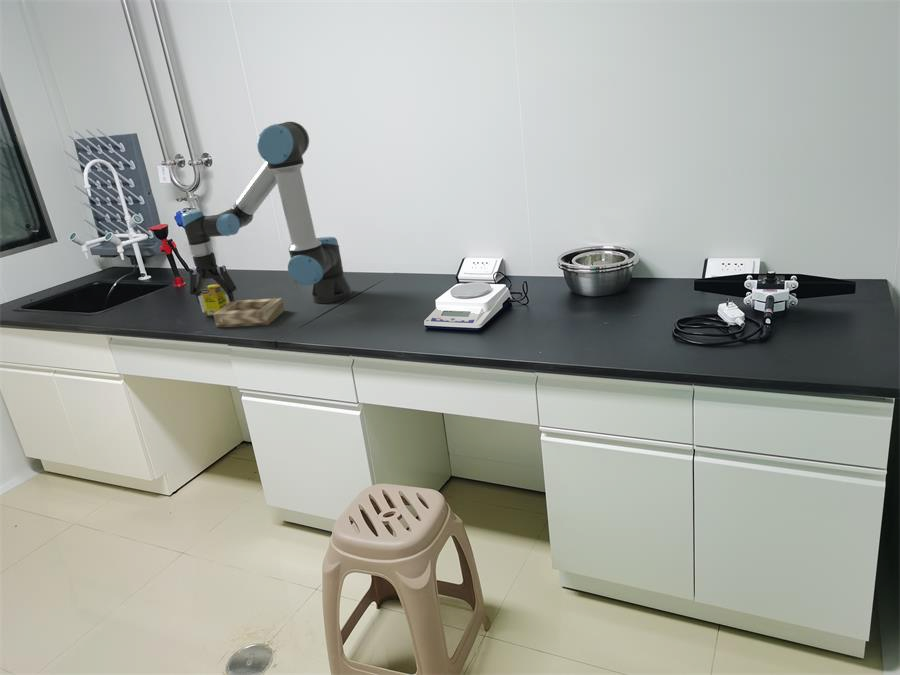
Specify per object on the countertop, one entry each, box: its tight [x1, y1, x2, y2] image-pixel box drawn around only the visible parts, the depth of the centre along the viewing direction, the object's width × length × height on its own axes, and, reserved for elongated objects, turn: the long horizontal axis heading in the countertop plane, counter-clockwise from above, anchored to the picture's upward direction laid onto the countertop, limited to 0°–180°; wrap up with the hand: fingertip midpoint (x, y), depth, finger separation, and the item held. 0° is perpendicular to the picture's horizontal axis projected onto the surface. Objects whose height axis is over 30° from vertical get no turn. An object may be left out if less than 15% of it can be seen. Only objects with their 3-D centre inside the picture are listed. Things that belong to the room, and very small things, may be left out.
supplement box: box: [201, 283, 228, 318], centre depth 241 cm, size 6×6×11 cm
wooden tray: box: [213, 297, 286, 328], centre depth 232 cm, size 20×14×5 cm
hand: (218, 310), depth 243 cm, fingers open, 11 cm apart
